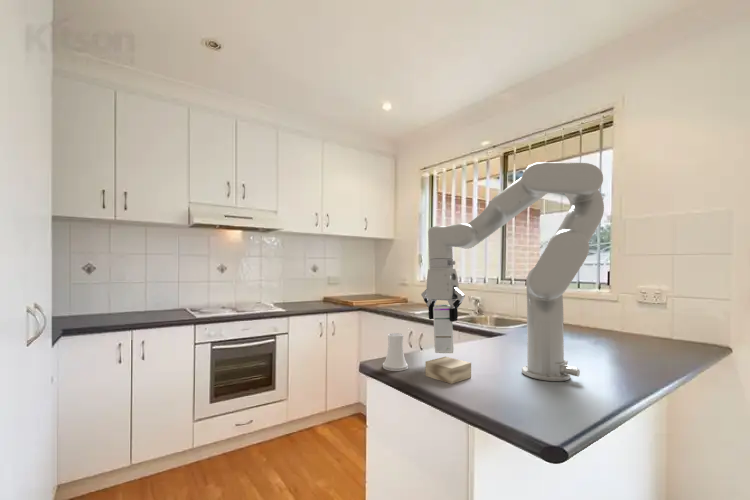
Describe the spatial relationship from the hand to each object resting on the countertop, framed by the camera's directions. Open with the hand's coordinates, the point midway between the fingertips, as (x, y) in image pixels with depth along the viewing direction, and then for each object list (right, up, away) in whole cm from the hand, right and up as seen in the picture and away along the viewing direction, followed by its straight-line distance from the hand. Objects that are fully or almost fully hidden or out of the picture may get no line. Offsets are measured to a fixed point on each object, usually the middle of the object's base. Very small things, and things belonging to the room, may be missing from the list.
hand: (442, 319), depth 115 cm
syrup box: (0, -10, -1) cm, 10 cm away
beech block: (-1, -13, -14) cm, 19 cm away
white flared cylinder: (-15, -14, -5) cm, 21 cm away
